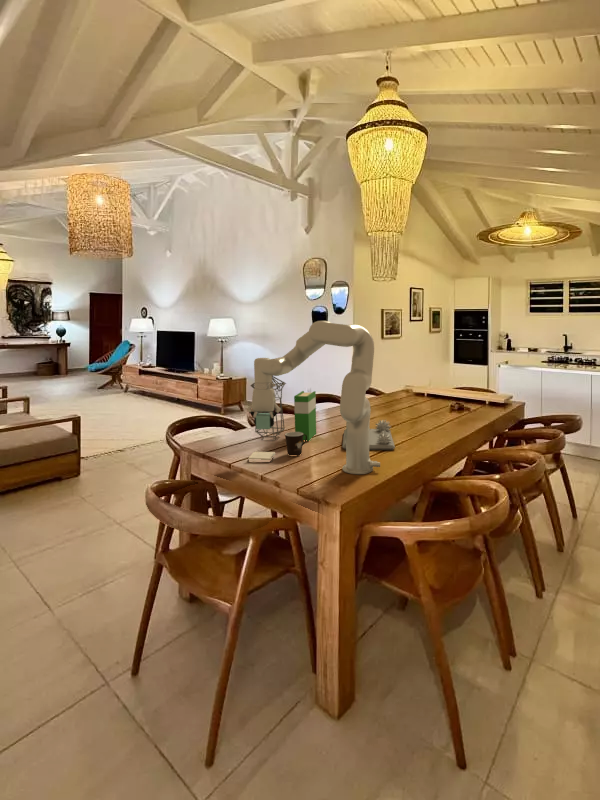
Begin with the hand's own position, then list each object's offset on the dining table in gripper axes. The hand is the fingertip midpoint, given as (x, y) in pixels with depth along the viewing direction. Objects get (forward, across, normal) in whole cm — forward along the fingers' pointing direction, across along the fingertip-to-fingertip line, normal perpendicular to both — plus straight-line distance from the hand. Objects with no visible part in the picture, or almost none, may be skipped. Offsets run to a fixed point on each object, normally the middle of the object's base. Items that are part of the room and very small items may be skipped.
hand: (264, 425), depth 202 cm
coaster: (+16, +2, -2) cm, 17 cm away
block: (+1, 0, 0) cm, 1 cm away
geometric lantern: (+17, +6, -40) cm, 44 cm away
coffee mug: (+16, -13, -11) cm, 24 cm away
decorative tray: (+16, -46, -37) cm, 62 cm away
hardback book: (+16, -13, -43) cm, 48 cm away
